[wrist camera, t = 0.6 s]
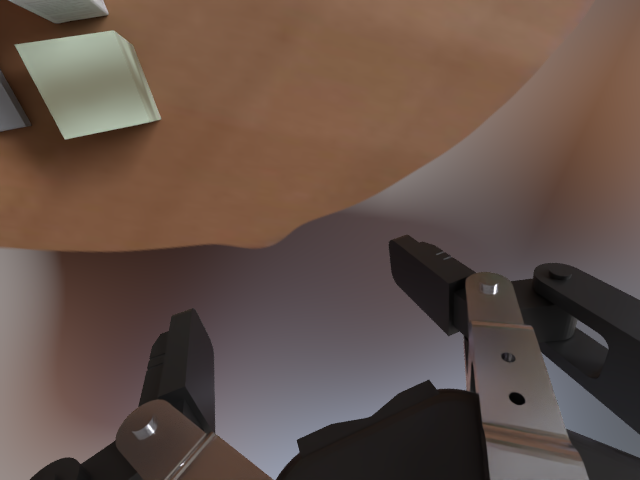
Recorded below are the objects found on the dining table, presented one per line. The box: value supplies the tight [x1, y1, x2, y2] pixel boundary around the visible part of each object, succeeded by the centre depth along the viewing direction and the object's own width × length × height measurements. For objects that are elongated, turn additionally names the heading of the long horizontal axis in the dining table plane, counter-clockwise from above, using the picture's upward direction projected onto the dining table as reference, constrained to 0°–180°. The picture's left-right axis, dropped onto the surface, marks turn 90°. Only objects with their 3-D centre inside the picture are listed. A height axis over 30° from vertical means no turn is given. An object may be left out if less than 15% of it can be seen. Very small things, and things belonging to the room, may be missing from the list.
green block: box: [15, 30, 161, 139], centre depth 25 cm, size 6×6×6 cm
